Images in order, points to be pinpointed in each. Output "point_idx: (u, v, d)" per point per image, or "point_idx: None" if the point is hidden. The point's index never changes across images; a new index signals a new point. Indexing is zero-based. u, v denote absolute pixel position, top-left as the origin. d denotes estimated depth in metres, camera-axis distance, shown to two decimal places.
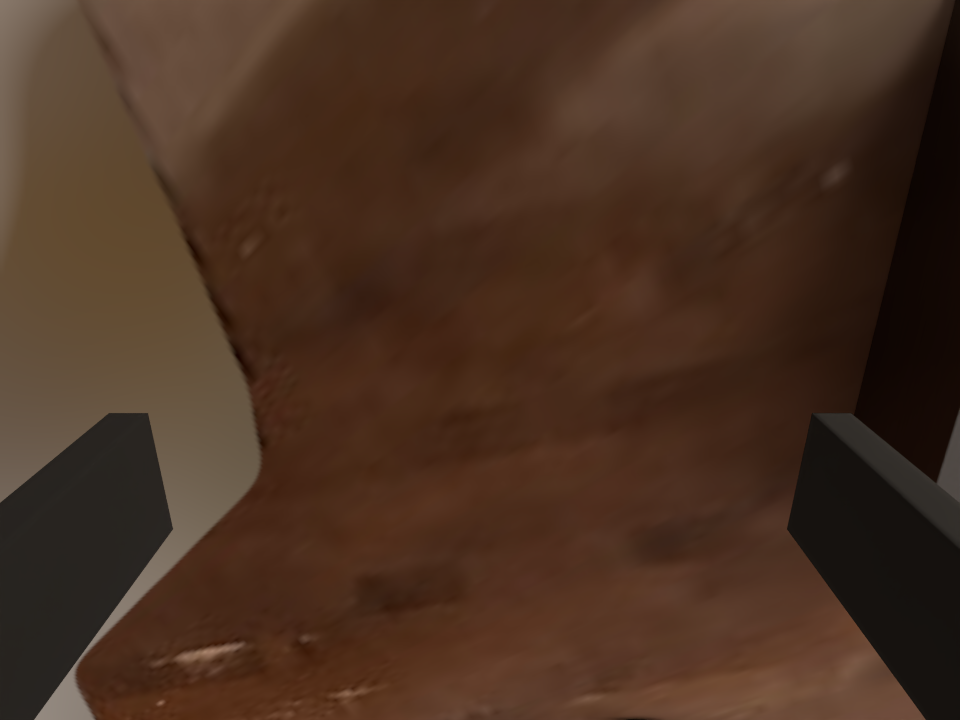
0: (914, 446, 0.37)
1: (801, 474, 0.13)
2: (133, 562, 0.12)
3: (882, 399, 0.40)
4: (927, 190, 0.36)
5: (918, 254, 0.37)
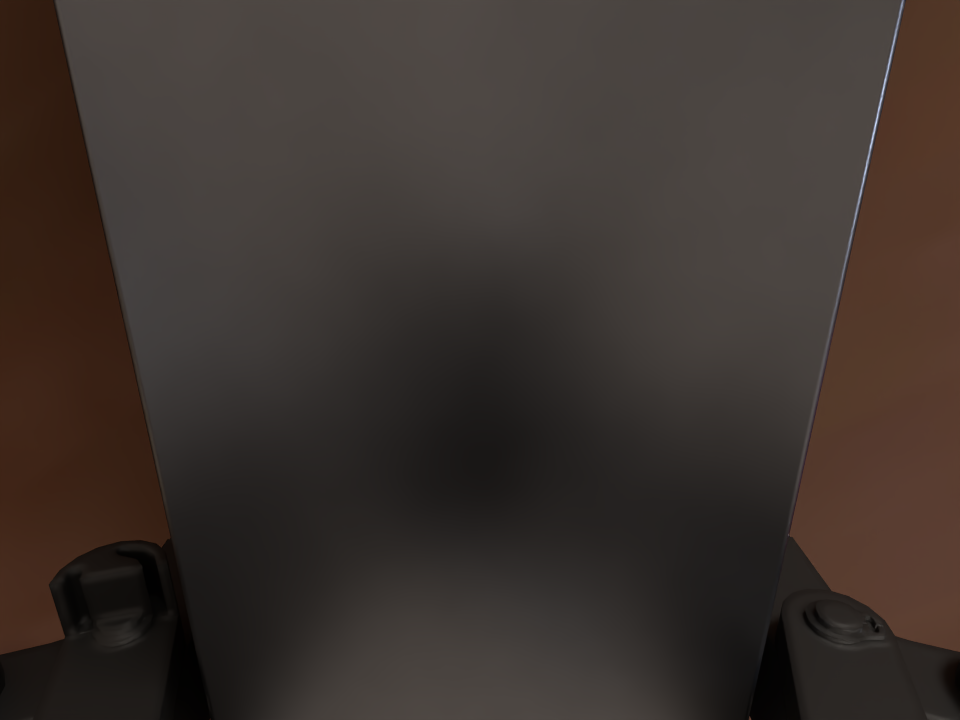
0: None
1: None
2: None
3: None
4: None
5: None
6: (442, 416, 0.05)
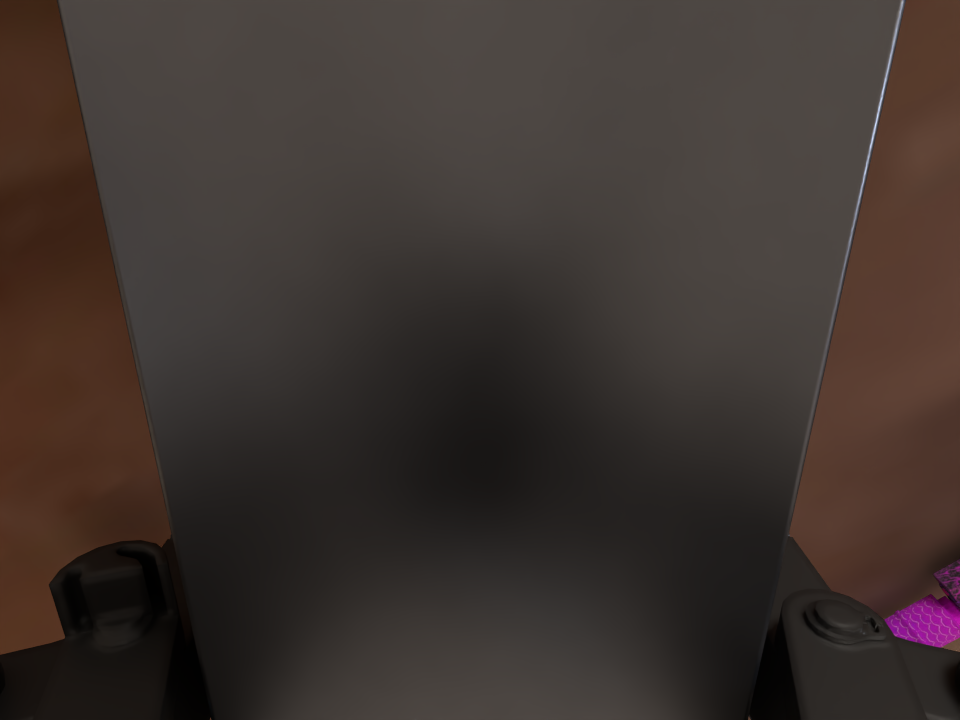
0: None
1: None
2: None
3: None
4: None
5: None
6: (443, 411, 0.05)
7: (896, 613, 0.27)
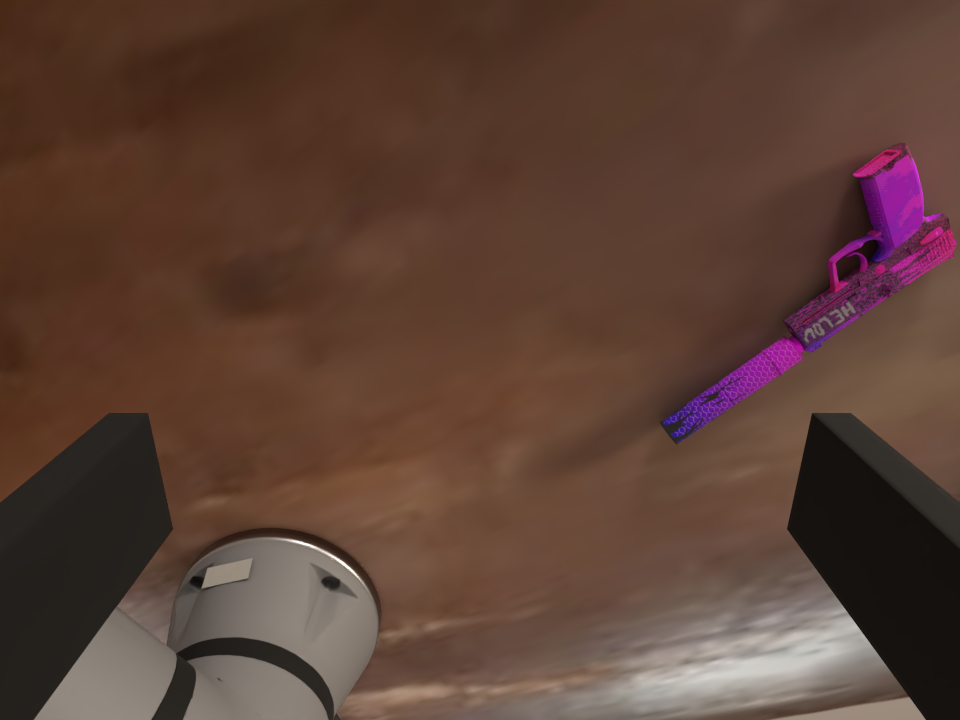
0: None
1: (801, 474, 0.13)
2: (132, 561, 0.12)
3: None
4: None
5: None
6: None
7: (761, 351, 0.41)
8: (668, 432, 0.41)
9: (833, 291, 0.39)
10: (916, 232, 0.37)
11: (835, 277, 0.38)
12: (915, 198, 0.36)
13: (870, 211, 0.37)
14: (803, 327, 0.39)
